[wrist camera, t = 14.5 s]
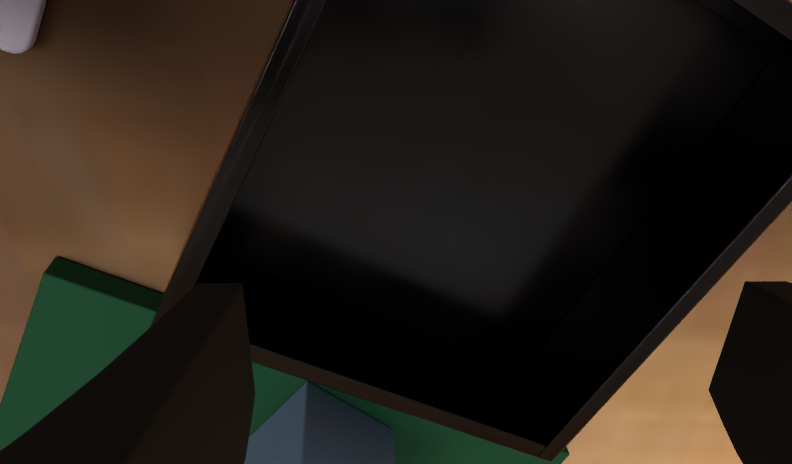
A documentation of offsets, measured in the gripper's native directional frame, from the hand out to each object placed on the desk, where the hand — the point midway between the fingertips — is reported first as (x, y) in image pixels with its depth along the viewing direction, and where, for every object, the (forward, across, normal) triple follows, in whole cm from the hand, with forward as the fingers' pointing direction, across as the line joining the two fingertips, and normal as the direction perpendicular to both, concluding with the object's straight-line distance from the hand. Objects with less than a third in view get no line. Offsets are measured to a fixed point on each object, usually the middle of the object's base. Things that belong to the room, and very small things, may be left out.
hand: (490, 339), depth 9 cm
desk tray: (+10, -1, +1) cm, 11 cm away
